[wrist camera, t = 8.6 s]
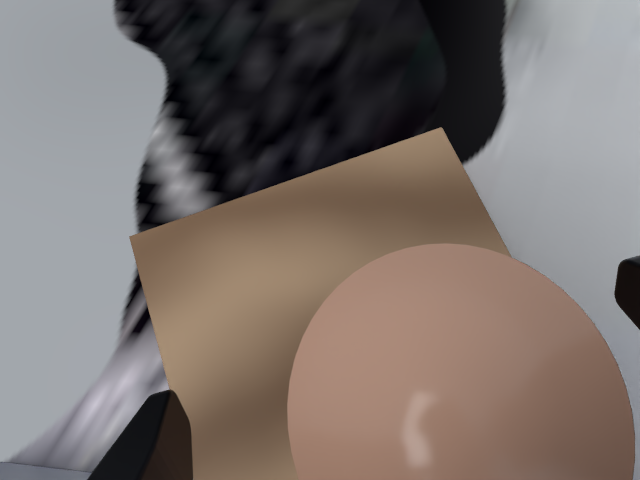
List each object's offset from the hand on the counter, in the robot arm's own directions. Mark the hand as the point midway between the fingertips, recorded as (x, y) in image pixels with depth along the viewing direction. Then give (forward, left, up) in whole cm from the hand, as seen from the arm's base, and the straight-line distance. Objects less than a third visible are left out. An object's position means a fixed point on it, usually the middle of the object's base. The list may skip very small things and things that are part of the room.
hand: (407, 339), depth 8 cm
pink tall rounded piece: (-1, 0, -8) cm, 8 cm away
